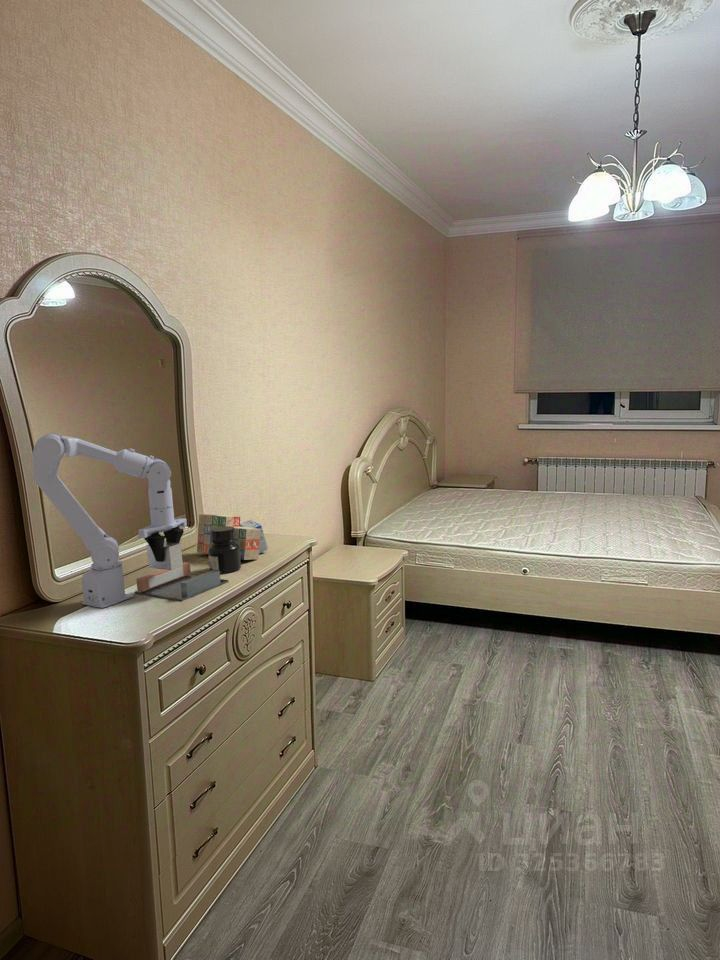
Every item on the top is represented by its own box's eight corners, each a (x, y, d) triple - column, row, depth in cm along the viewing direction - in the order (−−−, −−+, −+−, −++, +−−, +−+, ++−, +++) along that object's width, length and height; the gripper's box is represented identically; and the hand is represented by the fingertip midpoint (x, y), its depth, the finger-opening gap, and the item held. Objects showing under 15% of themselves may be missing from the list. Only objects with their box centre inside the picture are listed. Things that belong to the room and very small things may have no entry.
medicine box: (245, 548, 213) (238, 524, 210) (257, 542, 215) (250, 518, 212) (256, 555, 206) (248, 530, 203) (269, 549, 208) (261, 524, 205)
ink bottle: (211, 566, 196) (207, 526, 194) (241, 564, 197) (238, 524, 195) (208, 575, 186) (205, 533, 184) (240, 572, 187) (237, 531, 186)
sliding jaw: (143, 591, 171) (142, 579, 171) (137, 590, 172) (136, 578, 172) (191, 574, 186) (190, 562, 185) (185, 573, 187) (184, 562, 186)
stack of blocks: (259, 559, 201) (262, 518, 201) (243, 560, 196) (246, 518, 196) (211, 551, 214) (214, 513, 214) (195, 552, 209) (198, 513, 209)
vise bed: (181, 601, 165) (180, 585, 164) (135, 593, 173) (133, 578, 172) (228, 582, 179) (227, 567, 178) (183, 575, 187) (181, 561, 187)
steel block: (171, 570, 169) (169, 547, 168) (149, 567, 173) (146, 545, 172) (183, 566, 172) (180, 543, 171) (160, 563, 176) (158, 541, 175)
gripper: (150, 513, 162) (156, 567, 164) (193, 502, 174) (197, 553, 176) (130, 511, 165) (136, 565, 167) (173, 501, 178) (178, 551, 180)
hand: (166, 559), depth 172 cm, fingers closed on steel block, 4 cm apart
